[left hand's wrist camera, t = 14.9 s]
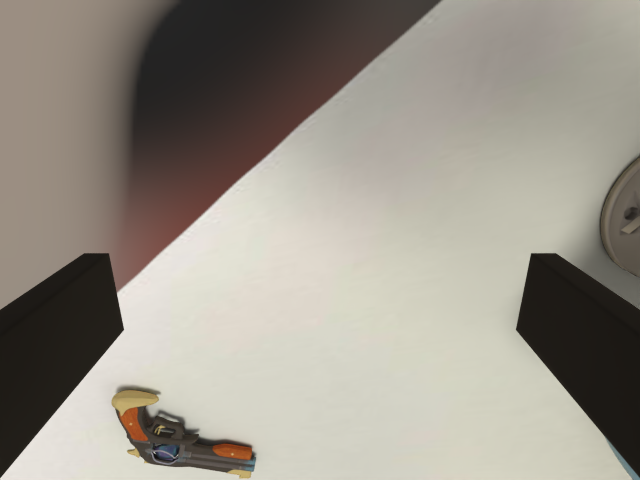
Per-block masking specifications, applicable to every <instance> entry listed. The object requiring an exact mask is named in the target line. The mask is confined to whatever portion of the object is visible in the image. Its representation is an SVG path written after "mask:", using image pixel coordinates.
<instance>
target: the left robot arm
mask: <svg viewBox="0 0 640 480" xmlns="http://www.w3.org/2000/svg"><path fill="white" fill-rule="evenodd" d="M601 236H602V241H603V244H604V247H605V249H606V251H607V253H608V254H609V256H610V257H611V259H612V260H613V261H614V262H615V263H616V264H617V265H619V266H620V267H621V268H623V269H625V270H627V271H628V272H630V273H632V274H634V275H635V276H638V277H640V157H639V158H638V159H637V160H636V161H634V162H633V163H632V164H631V165H630V166H629V167H628V168H627V169H626V170H625V171H624V172H623V174H622V175H621V176H620V177H619V179H618V180H617V181H616V183H615V184H614V186H613V188H612V189H611V191H610V193H609V195H608V197H607V199H606V202H605V205H604V208H603V212H602V217H601ZM123 330H124V327H123V322H122V317H121V312H120V307H119V302H118V297H117V292H116V287H115V282H114V277H113V272H112V267H111V262H110V257H109V254H108V253H84V254H83V255H81V256H80V257H78V258H77V259H75V260H74V261H72V262H71V263H69V264H68V265H66V266H65V267H63V268H62V269H60V270H59V271H57V272H56V273H54V274H53V275H51V276H50V277H48V278H47V279H45V280H44V281H42V282H41V283H39V284H38V285H37V286H35V287H34V288H32V289H31V290H29V291H28V292H26V293H25V294H23V295H22V296H20V297H19V298H17V299H16V300H14V301H13V302H11V303H10V304H8V305H7V306H5V307H4V308H2V309H1V310H0V478H1V477H2V475H3V474H4V473H5V472H6V471H7V469H8V468H9V467H10V466H11V465H12V463H13V462H14V461H15V460H16V459H17V457H18V456H19V455H20V454H21V453H22V451H23V450H24V449H25V448H26V447H27V445H28V444H29V443H30V442H31V441H32V439H33V438H34V437H35V436H36V435H37V433H38V432H39V431H40V430H41V429H42V427H43V426H44V425H45V424H46V423H47V421H48V420H49V419H50V418H51V417H52V415H53V414H54V413H55V412H56V411H57V409H58V408H59V407H60V406H61V405H62V403H63V402H64V401H65V400H66V399H67V397H68V396H69V395H70V394H71V393H72V391H73V390H74V389H75V388H76V387H77V385H78V384H79V383H80V382H81V381H82V379H83V378H84V377H85V376H86V375H87V373H88V372H89V371H90V370H91V369H92V367H93V366H94V365H95V364H96V363H97V361H98V360H99V359H100V358H101V357H102V356H103V354H104V353H105V352H106V351H107V350H108V348H109V347H110V346H111V345H112V344H113V342H114V341H115V340H116V339H117V338H118V336H119V335H120V334H121V333H122V332H123ZM516 330H517V332H518V333H519V334H520V335H521V336H522V338H523V339H524V340H525V341H526V342H527V344H528V345H529V346H530V347H531V348H532V350H533V351H534V352H535V353H536V354H537V356H538V357H539V358H540V359H541V360H542V361H543V363H544V364H545V365H546V366H547V367H548V369H549V370H550V371H551V372H552V373H553V375H554V376H555V377H556V378H557V379H558V381H559V382H560V383H561V384H562V385H563V387H564V388H565V389H566V390H567V391H568V393H569V394H570V395H571V396H572V397H573V399H574V400H575V401H576V402H577V403H578V405H579V406H580V407H581V408H582V409H583V411H584V412H585V413H586V414H587V415H588V417H589V418H590V419H591V420H592V421H593V423H594V424H595V425H596V426H597V427H598V429H599V430H600V431H601V432H602V433H603V435H604V436H605V438H606V440H607V442H608V444H609V446H610V447H611V449H612V451H613V452H614V454H615V456H616V457H617V459H618V460H619V462H620V463H621V464H622V466H623V467H624V469H625V470H626V471H627V473H628V474H629V475H630V476H631V478H632V479H633V480H640V310H639V309H638V308H636V307H635V306H633V305H632V304H630V303H629V302H627V301H626V300H624V299H623V298H621V297H620V296H618V295H617V294H615V293H614V292H612V291H611V290H609V289H608V288H607V287H605V286H604V285H602V284H601V283H599V282H598V281H596V280H595V279H593V278H592V277H590V276H589V275H587V274H586V273H584V272H583V271H581V270H580V269H578V268H577V267H575V266H574V265H572V264H571V263H569V262H568V261H566V260H565V259H563V258H562V257H560V256H559V255H557V254H556V253H531V257H530V262H529V267H528V272H527V277H526V282H525V287H524V292H523V297H522V302H521V307H520V312H519V317H518V322H517V327H516Z"/></svg>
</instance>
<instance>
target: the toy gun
mask: <svg viewBox="0 0 640 480" xmlns="http://www.w3.org/2000/svg"><path fill="white" fill-rule="evenodd" d="M158 400H159V398H158V396H156V395H154V394H150V393H146V392H142V391H135V390H126V391H121V392H119V393H117V394H116V395H115V396H114V397H113V398H112V406H113V407H114V408H115V410H116V413H117V416H118V418H119V421H120V423H121V424H122V426H123V427H124V429H125V431H126V433H127V438H128V439H129V441H130V442H131V444H132V445H133V446H134V447H135V449H133V450H128V451H127V452H128V453H129V454H131V455H135V456H136V457H138V458H139V456H141V457H142V458H143V459H144V460H145V462H144V463H150V464H155V465H163V466H171V467H196V468H202V469H208V470H215V471H221V472H226V473H230V474H237V475H240V477H239V478H250V477H251V471H252V472H253V471H254V467H255V461H256V457H254V456H252V448H249V447H244V446H238V445H232V444H219V445H214V446H207V445H201V444H198V443H195V442H196V441H197V440H198V436H199V434H193V435H184V434H183V431H184V427H183V425H182V424H181V423H179V422H173V421H169V420H166V419H164V418H162V417H160V416H157V417H156V418H155V420H154V422H153V423H152V424H151V425H149V424H148V423H147V421H146V418H145V415H144V408H145V406H147V405H151V404H154V403H156V402H157V401H158ZM157 424H159V425H160V426H158V427H157V428H156V430H155V429H154V426H155V425H157ZM165 427H167V428H170V429H175V430H176V431H175V432H174V433H169V432H162V431H160V429H161V428H165ZM158 428H159V431H158V430H157V429H158ZM156 443H160V444H161V445H159V446H157V447H156V446H155V445H154V444H156ZM179 445H180V447H179ZM154 447H155V448H154ZM153 452H155V453H156V454H154V453H153ZM177 455H178V456H177ZM176 456H177V457H176Z"/></svg>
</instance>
